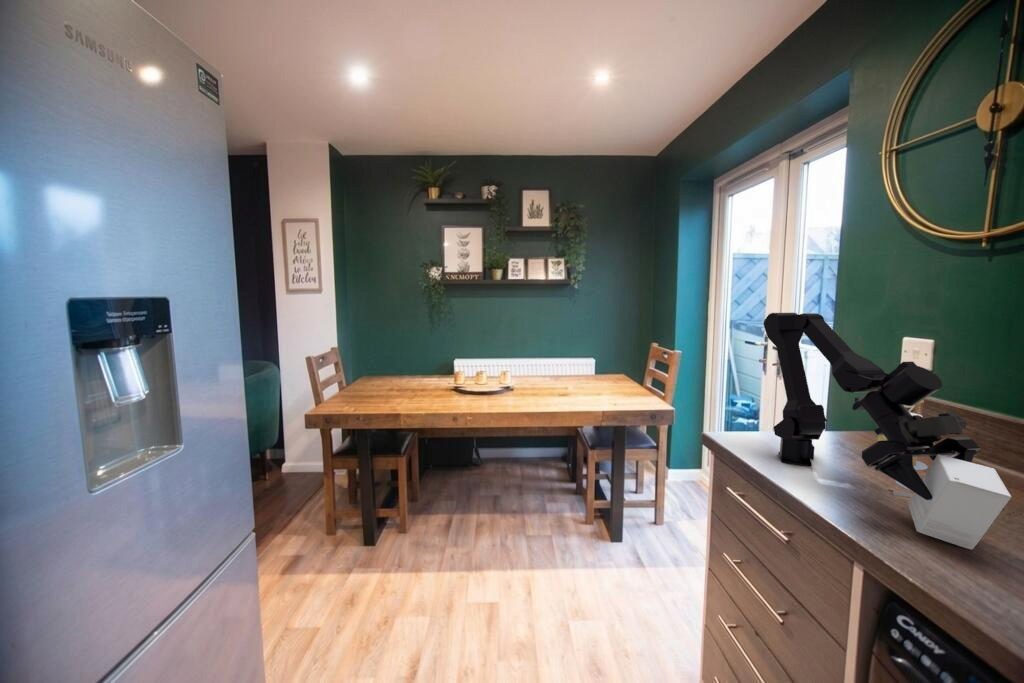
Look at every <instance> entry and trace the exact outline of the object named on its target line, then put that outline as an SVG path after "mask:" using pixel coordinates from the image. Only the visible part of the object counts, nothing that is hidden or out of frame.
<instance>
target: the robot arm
mask: <svg viewBox="0 0 1024 683" xmlns="http://www.w3.org/2000/svg"><path fill="white" fill-rule="evenodd" d="M763 327H764V331H765V334H766V337H767V338H768V339H769V341H770V342H771V343H772V344H773V345H774V346H775V348H776V352H777V356H778V361H779V365H780V366H779V367H780V371H781V376H782V381H783V387H784V390H785V396H786V402H785V405H784V407H783V410H782V420H781V421H779V422H778V423H777V424H776V425H774V426H773V432H774V436H776V437H779V438H780V444H779V445H780V447H779V451H778V457H779V460H780V462H781V463H785V464H786V463H787V464H792V465H798V466H804V467H812V466H813V463H812V461H814V458H815V446H814V444H813V440H820V437H821V435H822V433H823V432H824V430H826V422H828V420H827V418H826V415H825V409H824V406H823V405H822V404H816V403H815V401H814V400H813V399H812V398H811V397H812V396H811V393H810V389H809V384H808V379H807V375H806V371H805V366H804V362H803V357H802V352H801V348H800V343H801V339H802V338H803V335H805V336H806V337H807V338H808V340H809V341H810V342H811V343H812V344H813V345H814V346H815V347H816V348H817V350H818V351H819V352H820V353H821V355H823V357H825V359H826V360H827V361H828V363H829V364H830V365H831V373H832V376H833V378H834V380H835V381H836V383H837V384H838V386H839V387H840V389H841V390H843V391H844V392H846V393H857V394H858V393H866V394H865V395H864V396H862V397H861V396H859V397H857V396H856V397H854V402H853V403H852V407H851V408H852V411H865V412H866V413H867V415H868V416H869V417H870V419H871V420H872V422H874V424H875V425H876V427H877V428H875V429H874V431H873V432H874V433H875V434H876V435H877V436H878V435H884V436H885V438H886V439H887V440H886V441H878V442H877V441H876V442H875V443H873V444H872V445H870V446H868V447H867V448H865V449H864V450H861V459H862V460H863V462H864V463H865V465H866V467H868V468H873V469H874V470H875V471H876V472H878V471H879V472H881V473H883V474H885V475H887V476H888V477H890V478H891V479H893V480H894V481H895V480H896V481H898V482H899V483H901V484H902V485H904V486H906V487H907V488H909V489H910V490H909V489H908V490H909V491H911V492H912V493H914V494H915V493H916V494H918V495H919V496H921V497H922V498H924V499H925V500H930V499H932V495H931V493H930V491H929V490H928V488H927V487H926V485H925V484H924V482H923V481H922V480H923V479H922V477H921V476H920V474H919V473H918V472H917V470H915V469H914V467H913V457H917V458H918V457H919V458H920V457H929V458H930V459H931V460H932V462H933V461H934V459H935V458H936V456H937V455H938V454H939V455H943V456H947V457H951V458H955V459H959V460H963V461H967V462H971V463H973V460H974V457H976V456H977V455H978V451H980V450H981V447H980V446H979V445H978V444H977V443H976V442H975V441H974V439H973V438H969V437H965V436H959V437H958V436H954V437H947V438H945V439H943V437H942V436H948V435H963V434H964V431H963V430H965V429H966V428H967V421H966V420H965V419H963V417H961V415H959V414H958V413H957V412H956V411H947V412H943V413H938V416H932V417H925V418H923V416H922V417H921V416H919V415H911V414H910V413H909V411H908V410H907V409H906V408H905V407H904V405H906V406H914V405H916V404H917V403H919V402H921V401H922V400H924V401H925V399H926V398H928V397H930V396H931V395H933V394H934V393H936V392H937V391H939V390H940V389H942V387H943V382H942V380H941V378H940V377H939V376H938V375H937V374H936V373H933V372H931V371H930V370H929V369H927V368H924V367H922V366H919V365H917V364H916V363H915V362H914V361H902V362H901V363H899V364H898V365H897V366H896V367H895V369H893V370H892V371H891V372H889V373H888V372H885V370H883V368H882V367H880V366H878V365H877V364H876V363H874V362H873V361H872V360H870V359H868V358H866V357H864V356H862V355H859V354H858V353H856V352H855V351H853V349H852V348H851V347H850V346H849V345H848V344H847V343H846V342H845V341H844V340H843V339H842V338H841V336H840V335H838V334H837V333H836V331H835V330H834V329H833V328H832V327H831V326H830V325H829V324H828V323H827V322H826V321H825V318H824V316H823V315H822V314H820V313H815V312H813V313H811V312H810V313H809V312H808V313H807V312H806V313H800V314H798V313H797V312H771V313H768V314H767V316H766V318H765V319H764V320H763ZM942 439H943V440H942ZM935 442H936V444H934V443H935Z"/></svg>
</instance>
